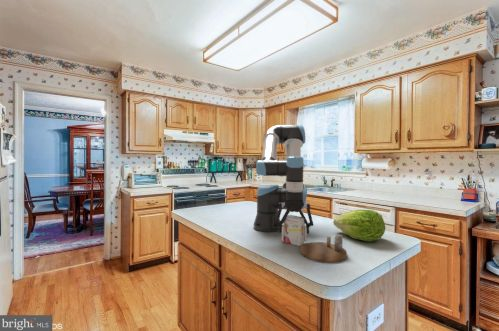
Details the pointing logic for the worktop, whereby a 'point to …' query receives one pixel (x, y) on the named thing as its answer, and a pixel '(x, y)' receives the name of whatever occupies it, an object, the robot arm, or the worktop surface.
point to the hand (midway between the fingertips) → (293, 240)
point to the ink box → (294, 230)
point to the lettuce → (361, 224)
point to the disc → (325, 250)
